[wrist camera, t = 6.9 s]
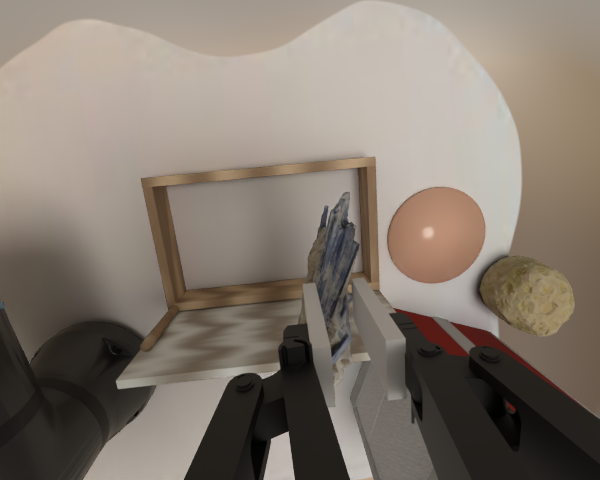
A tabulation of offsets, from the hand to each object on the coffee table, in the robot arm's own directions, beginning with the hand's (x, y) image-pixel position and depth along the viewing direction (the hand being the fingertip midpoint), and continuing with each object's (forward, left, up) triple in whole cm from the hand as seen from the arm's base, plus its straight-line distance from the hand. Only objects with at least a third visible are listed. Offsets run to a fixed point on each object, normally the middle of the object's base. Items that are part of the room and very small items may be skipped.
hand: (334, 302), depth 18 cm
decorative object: (+30, -11, -23) cm, 39 cm away
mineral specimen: (-2, +6, 0) cm, 7 cm away
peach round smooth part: (+17, -3, -22) cm, 28 cm away
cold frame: (-5, 0, -22) cm, 22 cm away
